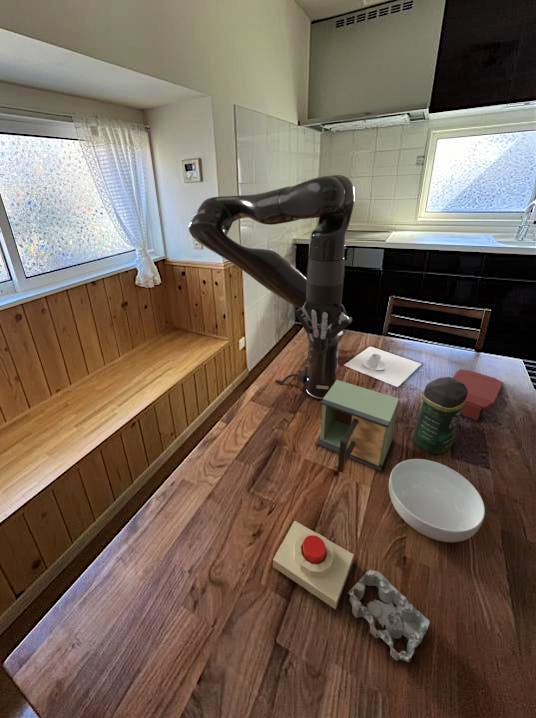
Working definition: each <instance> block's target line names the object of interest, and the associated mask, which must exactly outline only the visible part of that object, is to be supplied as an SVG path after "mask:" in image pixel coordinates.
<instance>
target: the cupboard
mask: <svg viewBox="0 0 536 718" xmlns="http://www.w3.org/2000/svg"><path fill="white" fill-rule="evenodd" d="M399 404H400V397H399V398H398V397H395V396H393V395H389V394H386V393H382V392H378V391H377V390H373V389H368V388H366V387H363V386H359V385H356V384H353V383H349V382H345V381H343V380H339V379H336V382H335V383H334V384H333V386H332V387H331V389H330V390H329V391H328V393H327V394H326V395H325V397H324V398H323V400H320V405H321V406H322V407H321V423H320V435H319V440H318V442H317V446H319V447H322V448H324V449H326V450H329V451H331V452H334V453H336V454H338V455H339V451H340V441H341V439H342V438H344V436H345V434H346V432H347V431H348V429H349V427H350V425H351V420H352V415H353V416H356V417H359V418H362V419H364V420H367V421H370V422H373V423H376V424H379V425H381V426H384V427H386V430H385V436H384V442H383V448H382V454H381V459H380V465H379V466H377V465H375V464H373V463H370V462H368V461H365V460H363V459H361V458H358V457H356V456H353V455H350V457H349V459H350V460H352V461H355V462H357V463H359V464H362V465H365V466H367V467H369V468H371V469H374V470H376V471H379V472H381V471H382V468H383V466H384V463H385V460H386V458H387V455H388V452H389V450H390V447H391V444H392V441H393V435H394V431H395V425H396V420H397V414H398V409H399ZM348 446H349V441H348V443H347V449H348ZM346 451H347V450H346Z"/></svg>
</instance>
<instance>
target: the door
mask: <svg viewBox="0 0 536 718" xmlns="http://www.w3.org/2000/svg"><path fill="white" fill-rule="evenodd" d="M385 430H386V427H384V426H381V425H379V424H376V423H373V422H370V421H367V420H364V419H362V418H359V417H356V416H353V415H352V420H351V425H350V427H349V429H348V431H347V432H346V434H345V436H344V438H342V439H341V441H340V451H339V454H338V461H337V463H338V464H337V472H339V473H341V474H343V473H344V471H345V466H346V464H347V463H348V460H349V459H350V458H349V457H350V455H353V456H356V457H358V458H361V459H363V460H365V461H368V462H370V463H373V464H375V465H377V466H379V465H380V459H381V454H382V448H383V442H384V436H385ZM348 441H349V446H348V449H347V443H348ZM346 450H347V451H346Z"/></svg>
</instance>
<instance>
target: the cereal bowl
mask: <svg viewBox="0 0 536 718" xmlns="http://www.w3.org/2000/svg"><path fill="white" fill-rule="evenodd" d="M388 492H389V498H390V502H391V503H392V506H393V507H394V510H395V511H396V512H397V514H398V515H399V517H400V518H401V519H402V520H403V521H404V522H405V523H406V524H408V526H410V527H411V528H412V529H414V530H415V531H416V532H417V533H419V534H422V535H423V536H425V537H427V538H429V539H431V540H435V541H439V542H444V543H459V542H463V541H467V540H468V539H471V538H472V537H473V536H475V534H476V533H477V532H478V531H479V530H480V528H481V527H482V525H483V522H484V519H485V515H486V508H485V503H484V500H483V498H482V496H481V493H479V491H478V490H477V489H476V488H475V486H474V485H473V484H472V483H471V482H470V481H469V480H468V479H466V478H465V476H463V475H462V474H460V473H459V472H457V471H456V470H455V469H453V468H451V467H449V466H448V465H445V464H443V463H440V462H437V461H433V460H430V459H426V458H411V459H410V458H409V459H405V460H402V461H400V462H399V463H397V464H396V465H395V466H394V467H393V469H392V470H391V472H390V474H389V479H388Z"/></svg>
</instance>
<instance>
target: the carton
mask: <svg viewBox="0 0 536 718" xmlns="http://www.w3.org/2000/svg"><path fill="white" fill-rule="evenodd" d="M452 378H453V379H455V380H457V381H459V382H461V383H463V384H465V386H466V388H467V390H468V394H467V398H466V401H465V404H464V406H463V409H462V412H461V415H462V416H464V417H467V418H469V419H472V420H475V421H478V420H479V417H480V415H481V412H485V411H486V410H488V409H490V408H492V407H493V406H494V404H495V402H496V400H497V397H498V396H499V393H500V391H501V389H502V387H503V384H504V381H502V380H499V379H498V378H496V377H493V376H490V375H486V374H483V373H479V372H477V371H473V370H470V369H464V368H463V369H462V368H460V369H459V370H458V371H457V372H456V373H455V374H454V375H453V377H452ZM461 415H460V416H461Z"/></svg>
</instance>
